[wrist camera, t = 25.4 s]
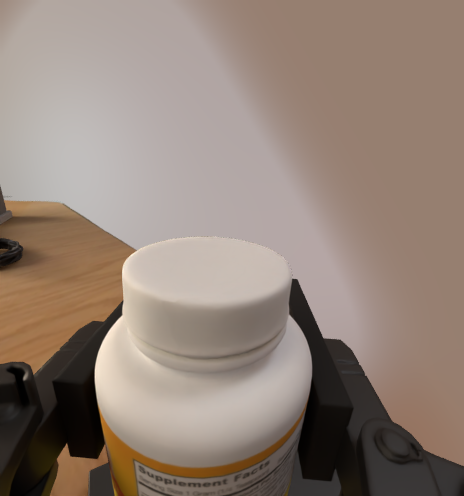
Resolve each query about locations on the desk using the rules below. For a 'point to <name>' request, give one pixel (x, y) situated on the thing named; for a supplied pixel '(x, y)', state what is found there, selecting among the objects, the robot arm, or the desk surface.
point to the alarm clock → (3, 210)
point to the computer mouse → (14, 251)
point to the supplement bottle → (203, 372)
